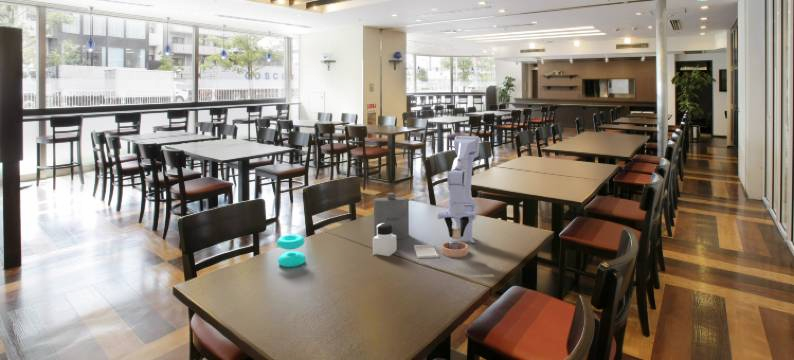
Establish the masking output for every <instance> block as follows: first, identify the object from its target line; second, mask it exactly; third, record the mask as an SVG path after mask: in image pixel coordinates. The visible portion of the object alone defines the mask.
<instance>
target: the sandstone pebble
mask: <svg viewBox="0 0 794 360" xmlns="http://www.w3.org/2000/svg"><path fill="white" fill-rule="evenodd" d="M450 238H451V239H453V240H456V239H461V228H458V227H454V226H453V227H452V237H450Z"/></svg>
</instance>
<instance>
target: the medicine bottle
mask: <svg viewBox="0 0 794 360" xmlns="http://www.w3.org/2000/svg"><path fill="white" fill-rule="evenodd" d="M396 251H397V239H396V235H392V225H391V224H388V223H381V224H378V225H377V236H375V237H374V236H373V237H372V255H373V256H375V255H380V256H386V257H391V256H392V254H394V253H396Z"/></svg>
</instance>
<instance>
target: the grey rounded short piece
mask: <svg viewBox="0 0 794 360" xmlns="http://www.w3.org/2000/svg"><path fill="white" fill-rule="evenodd" d="M448 242H449V249H452V250H459V249H458V242H459V241H457V240H450V241H448Z"/></svg>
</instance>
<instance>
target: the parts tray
mask: <svg viewBox="0 0 794 360" xmlns="http://www.w3.org/2000/svg"><path fill="white" fill-rule="evenodd" d="M413 248H414V251H415V255H416V257H417V259H429V258H430V259H432V258H439V257H440V255H439V254H438V252H437V251H436V249H435V244H414V245H413Z"/></svg>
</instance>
